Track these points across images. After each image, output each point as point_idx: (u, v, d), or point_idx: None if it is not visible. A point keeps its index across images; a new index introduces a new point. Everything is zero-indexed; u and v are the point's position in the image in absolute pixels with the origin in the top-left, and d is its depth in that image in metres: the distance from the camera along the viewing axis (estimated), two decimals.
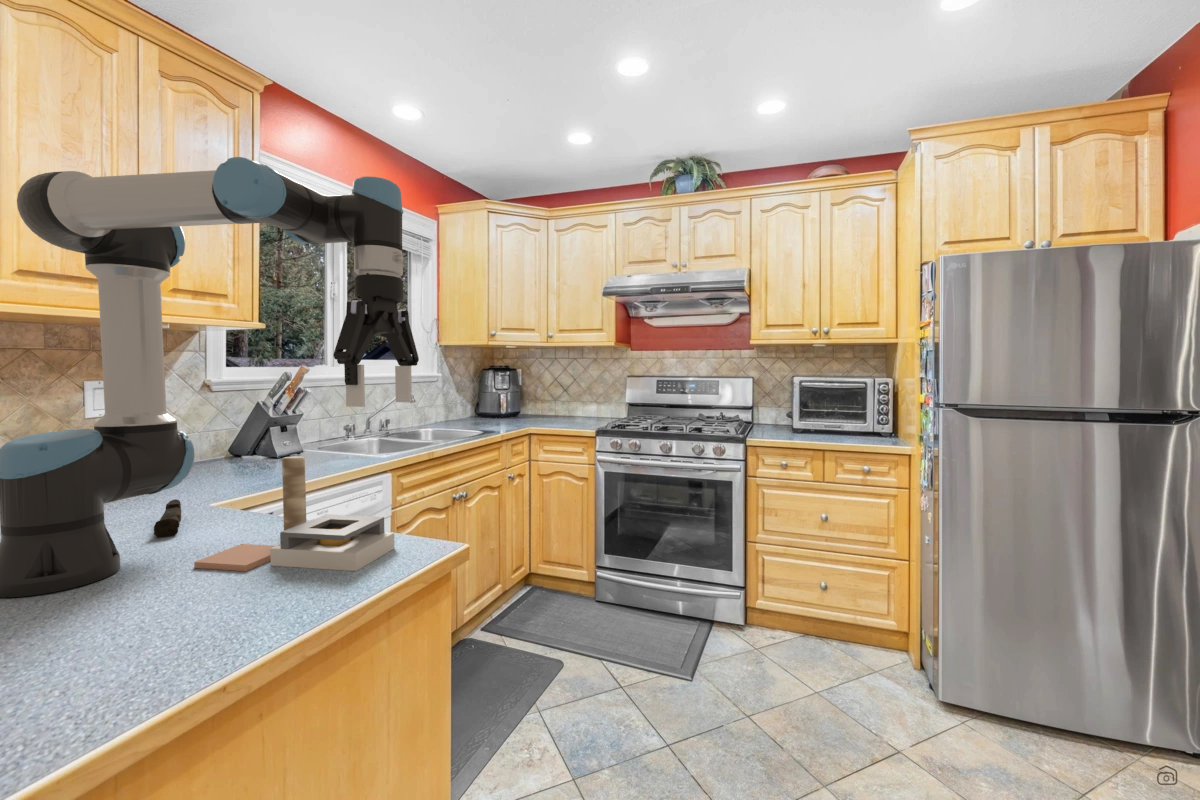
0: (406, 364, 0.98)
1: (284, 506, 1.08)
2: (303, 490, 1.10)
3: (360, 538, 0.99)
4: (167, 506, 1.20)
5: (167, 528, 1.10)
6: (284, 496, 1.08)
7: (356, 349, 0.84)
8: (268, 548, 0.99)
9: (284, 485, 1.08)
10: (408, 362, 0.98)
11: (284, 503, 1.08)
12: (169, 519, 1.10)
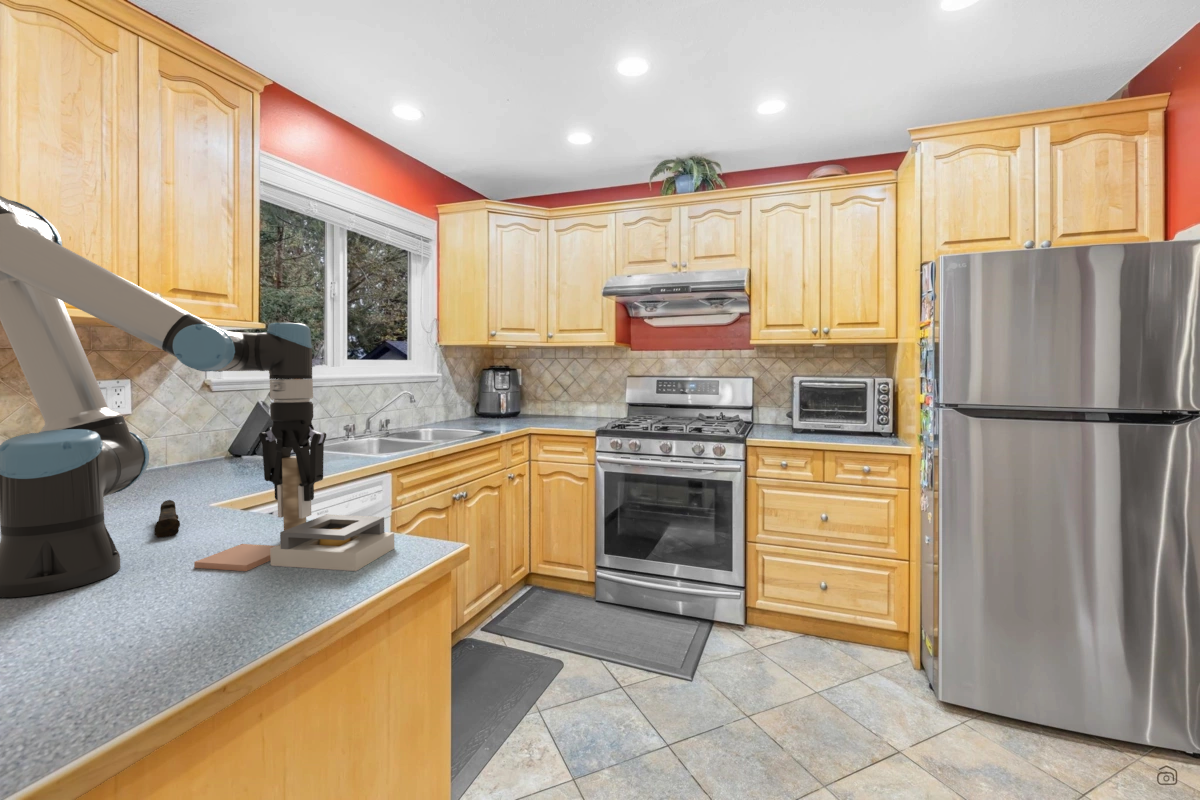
0: None
1: (284, 506, 1.08)
2: None
3: (360, 538, 0.99)
4: (162, 507, 1.19)
5: (168, 528, 1.10)
6: (284, 496, 1.08)
7: None
8: (268, 548, 0.99)
9: (284, 485, 1.08)
10: None
11: (284, 503, 1.08)
12: (170, 519, 1.10)
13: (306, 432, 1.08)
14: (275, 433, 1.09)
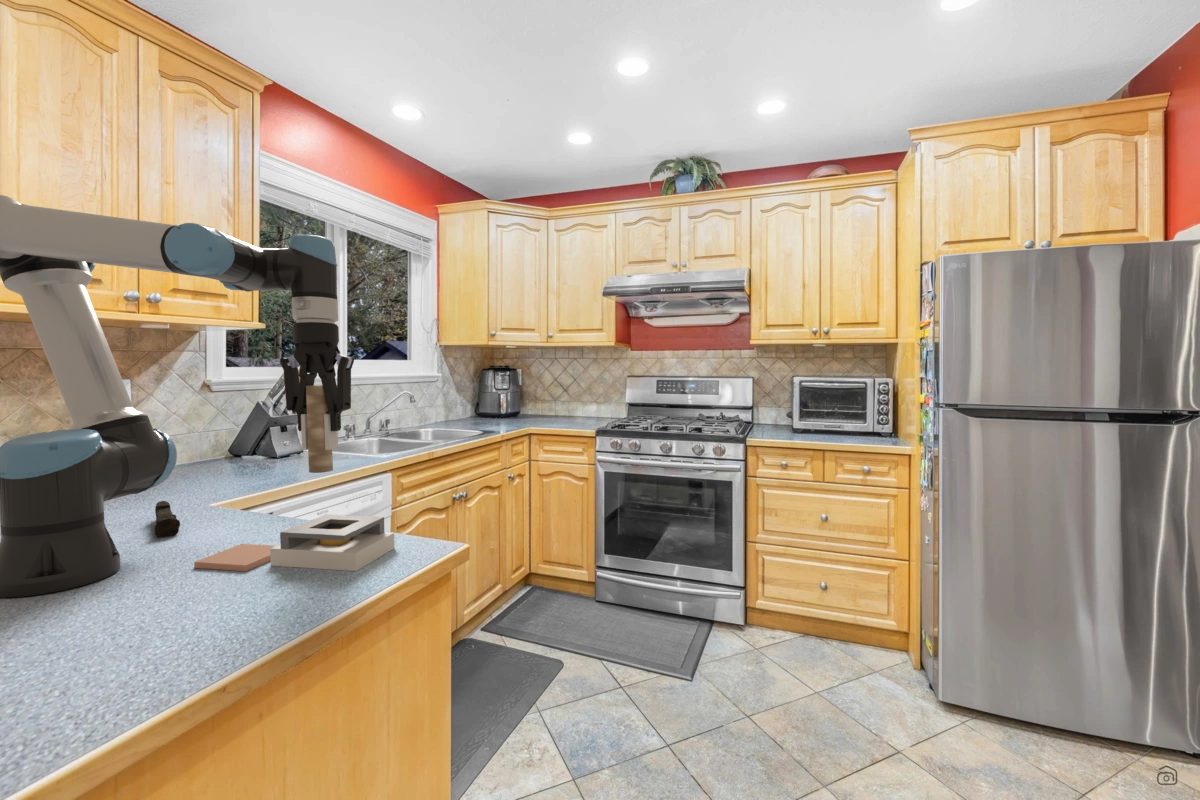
0: None
1: (309, 437, 1.00)
2: None
3: (360, 538, 0.99)
4: (157, 507, 1.19)
5: (168, 528, 1.10)
6: (309, 426, 1.00)
7: None
8: (268, 548, 0.99)
9: (309, 414, 0.99)
10: (328, 408, 1.00)
11: (309, 434, 1.00)
12: (170, 519, 1.10)
13: (332, 355, 0.99)
14: (298, 358, 1.00)
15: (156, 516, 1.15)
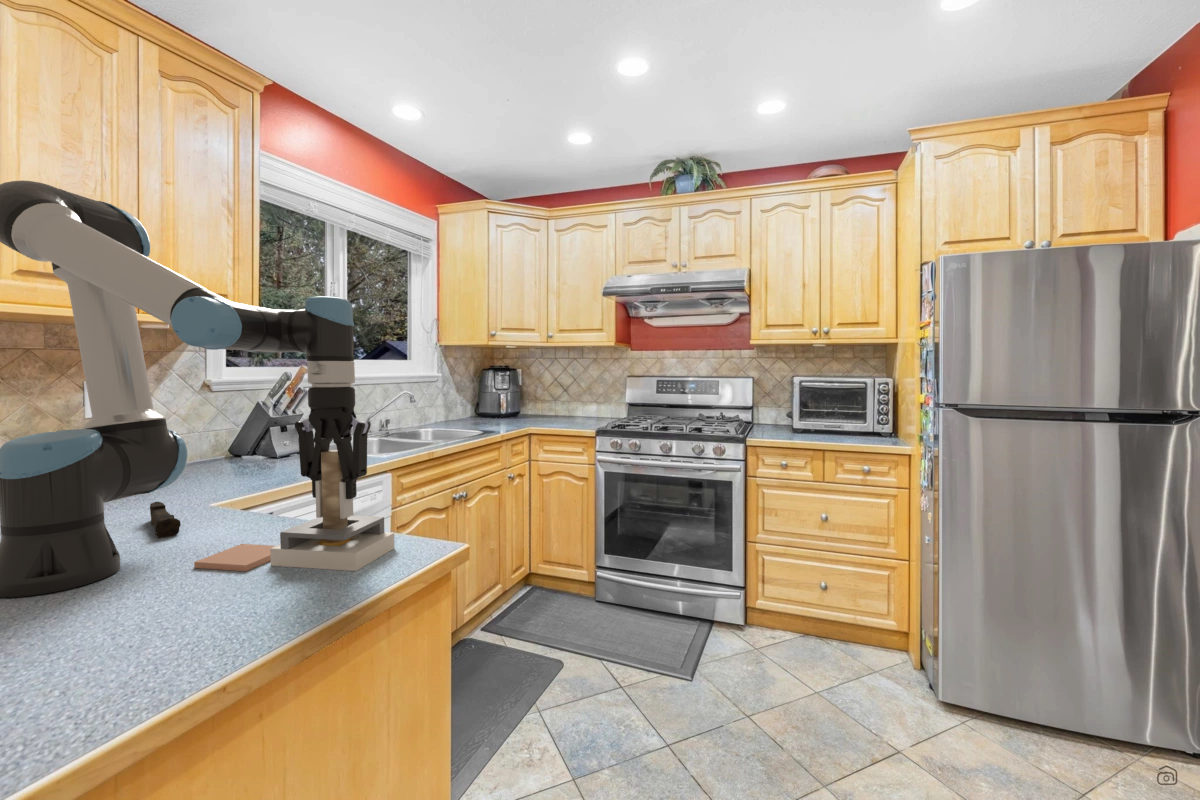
0: None
1: (324, 506, 0.96)
2: None
3: (360, 538, 0.99)
4: (153, 508, 1.18)
5: (169, 528, 1.10)
6: (324, 495, 0.96)
7: None
8: (268, 548, 0.99)
9: (324, 482, 0.95)
10: None
11: (324, 503, 0.96)
12: (171, 519, 1.10)
13: (348, 421, 0.95)
14: (313, 422, 0.96)
15: (153, 517, 1.15)
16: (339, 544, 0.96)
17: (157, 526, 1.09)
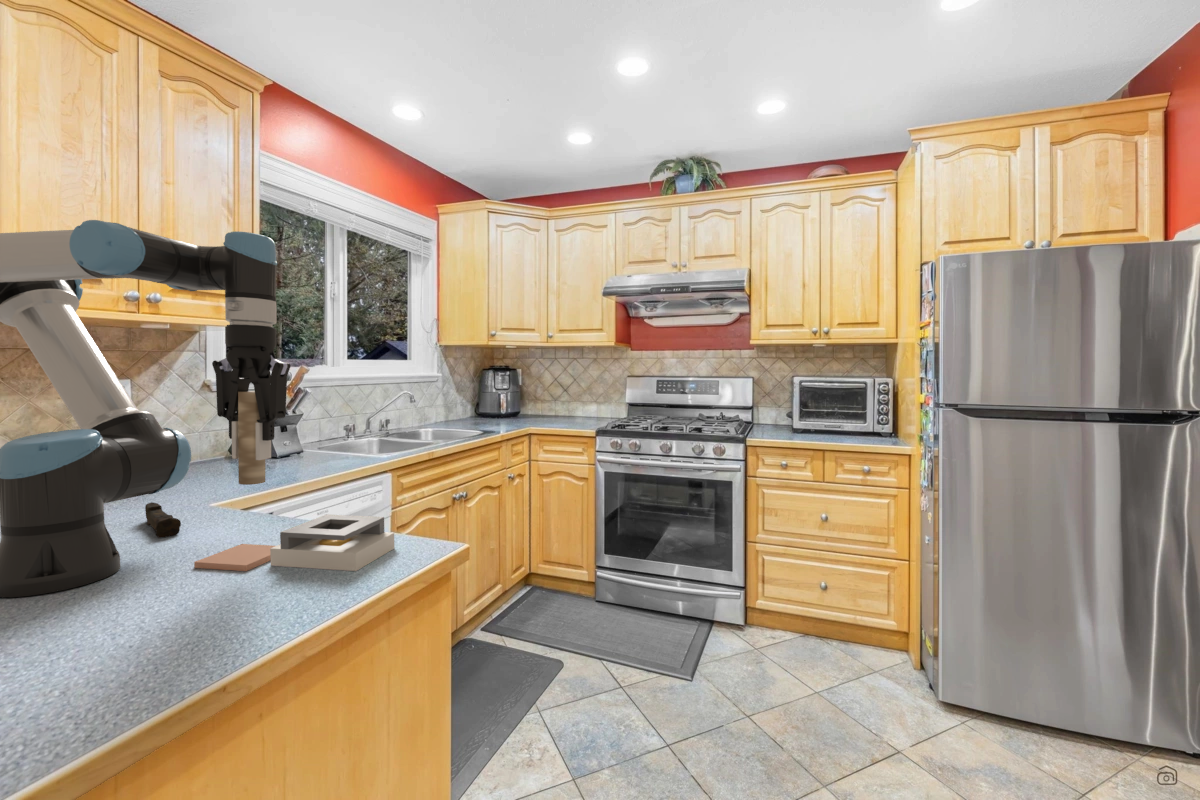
0: None
1: (239, 447, 0.94)
2: None
3: (360, 538, 0.99)
4: (149, 509, 1.18)
5: (169, 528, 1.10)
6: (239, 435, 0.94)
7: None
8: (268, 548, 0.99)
9: (240, 422, 0.94)
10: None
11: (239, 443, 0.94)
12: (171, 519, 1.10)
13: (266, 361, 0.93)
14: (231, 361, 0.94)
15: (151, 517, 1.14)
16: (339, 544, 0.96)
17: (158, 526, 1.09)
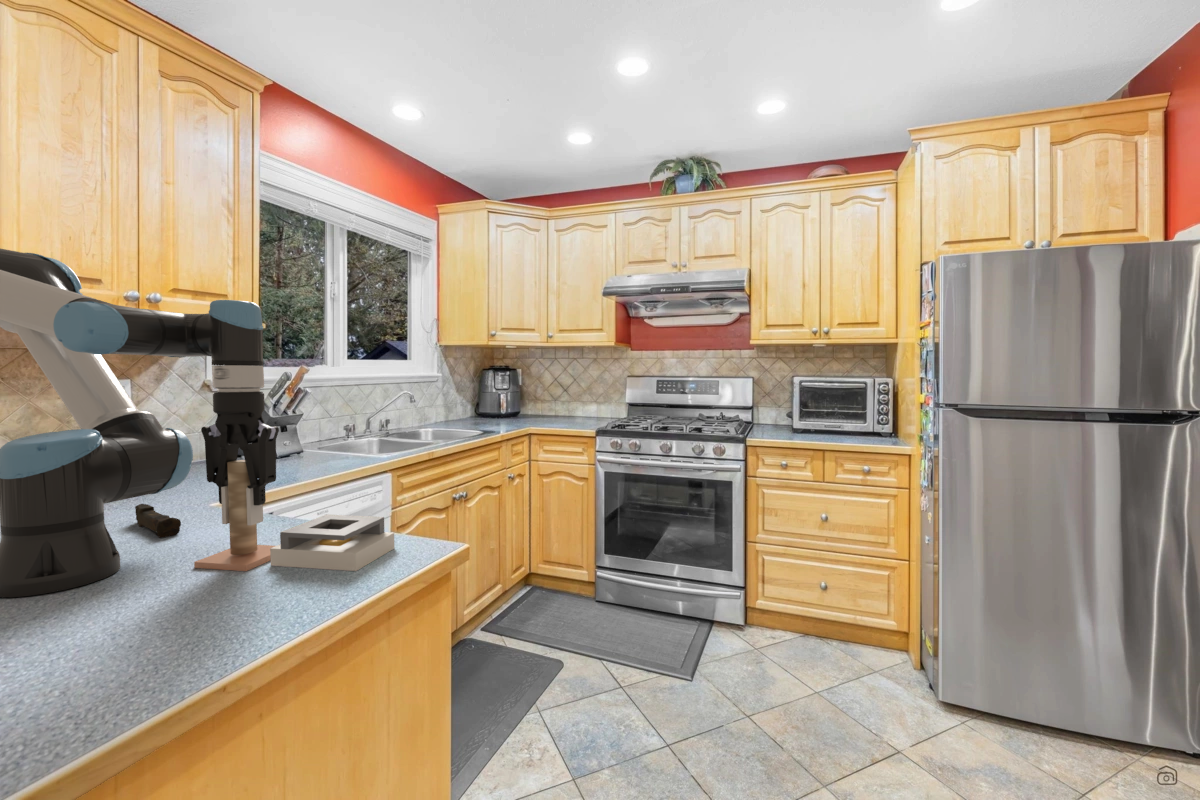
0: None
1: (230, 517, 0.94)
2: None
3: (360, 538, 0.99)
4: (141, 510, 1.17)
5: (170, 528, 1.10)
6: (230, 506, 0.94)
7: None
8: (268, 548, 0.99)
9: (230, 493, 0.94)
10: None
11: (230, 514, 0.94)
12: (172, 519, 1.10)
13: (254, 426, 0.94)
14: (219, 427, 0.95)
15: (146, 518, 1.14)
16: (339, 544, 0.96)
17: (158, 526, 1.09)
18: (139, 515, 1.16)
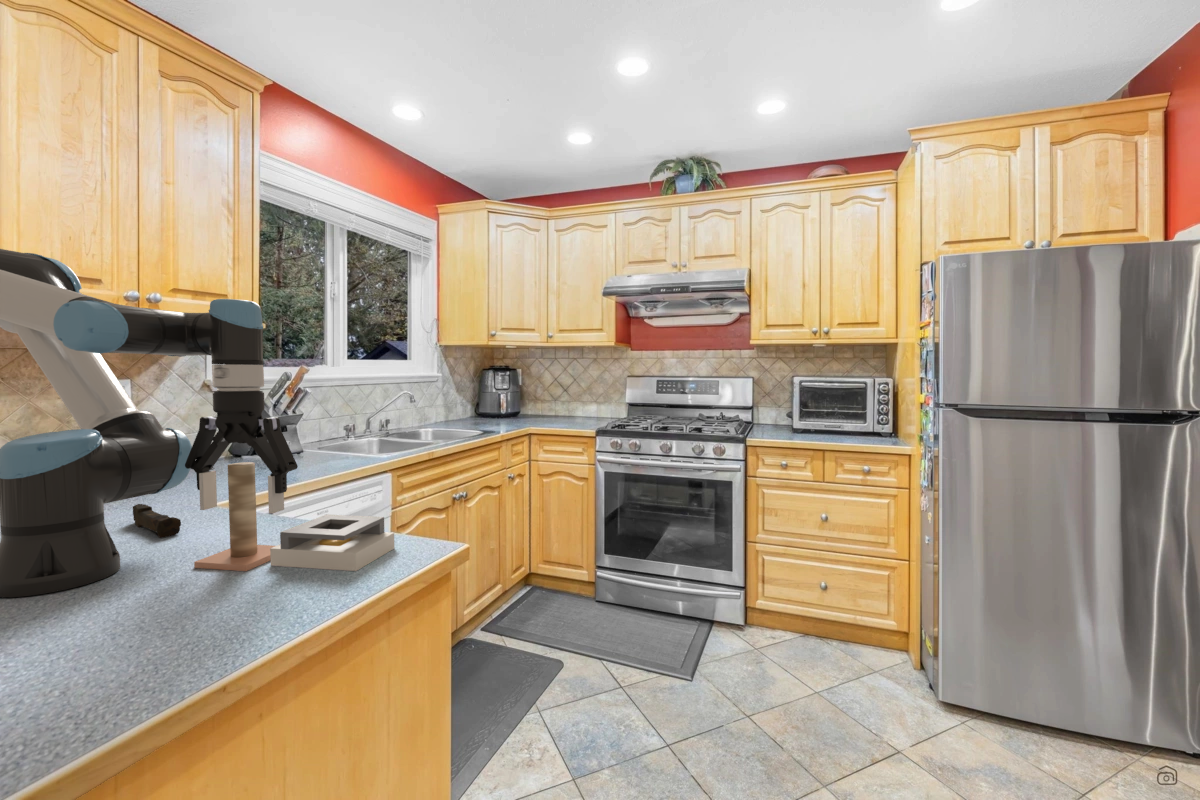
0: None
1: (230, 520, 0.94)
2: (252, 501, 0.96)
3: (360, 538, 0.99)
4: (139, 510, 1.16)
5: (170, 527, 1.10)
6: (230, 508, 0.94)
7: None
8: (268, 548, 0.99)
9: (230, 496, 0.94)
10: (272, 471, 0.93)
11: (230, 516, 0.94)
12: (172, 518, 1.10)
13: (255, 423, 0.94)
14: (217, 426, 0.95)
15: (145, 518, 1.13)
16: (339, 544, 0.96)
17: (159, 526, 1.09)
18: (137, 515, 1.16)
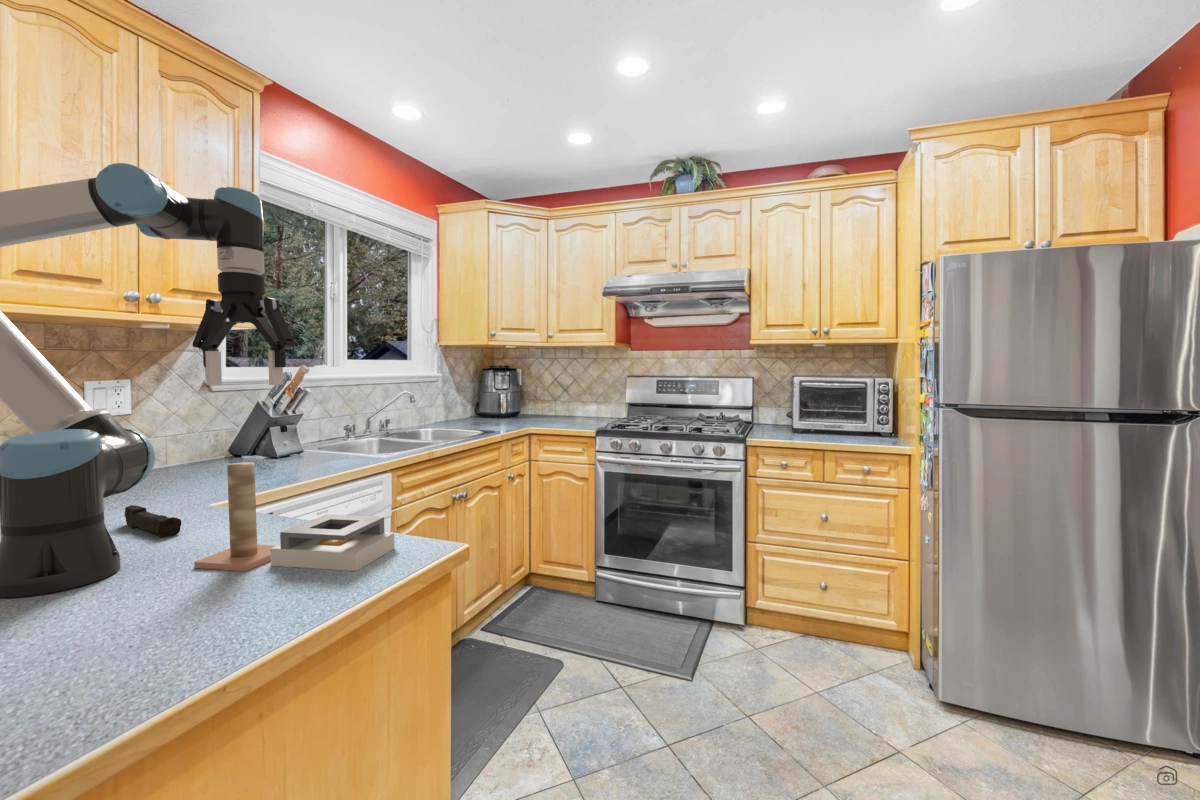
0: None
1: (230, 520, 0.94)
2: (252, 501, 0.96)
3: (360, 538, 0.99)
4: (134, 511, 1.15)
5: (171, 527, 1.10)
6: (230, 508, 0.94)
7: None
8: (268, 548, 0.99)
9: (229, 496, 0.94)
10: None
11: (230, 516, 0.94)
12: (173, 518, 1.11)
13: (256, 303, 1.03)
14: (222, 307, 1.04)
15: (142, 519, 1.13)
16: (339, 544, 0.96)
17: (160, 526, 1.09)
18: (131, 516, 1.15)
